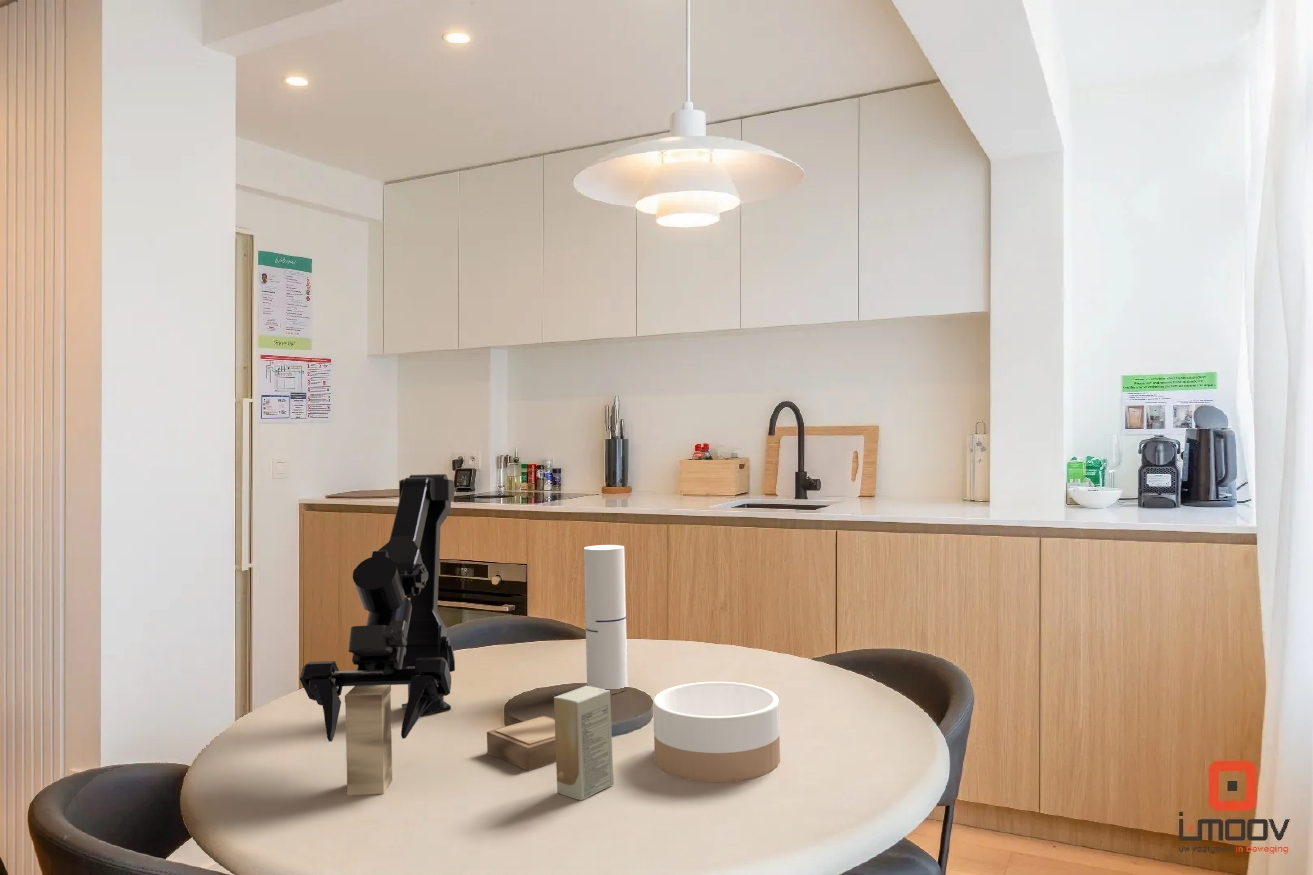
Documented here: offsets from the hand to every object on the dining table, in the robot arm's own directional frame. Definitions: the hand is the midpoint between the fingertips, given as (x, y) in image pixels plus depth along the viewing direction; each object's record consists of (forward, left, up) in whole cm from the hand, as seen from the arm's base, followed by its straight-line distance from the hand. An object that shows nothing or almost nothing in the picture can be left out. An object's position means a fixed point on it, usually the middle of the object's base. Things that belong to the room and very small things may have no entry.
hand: (366, 738), depth 113 cm
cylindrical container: (-22, +48, -7) cm, 53 cm away
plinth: (0, +24, -7) cm, 25 cm away
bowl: (+17, +43, -7) cm, 46 cm away
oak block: (-1, +1, -7) cm, 7 cm away
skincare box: (+16, +23, -7) cm, 28 cm away
